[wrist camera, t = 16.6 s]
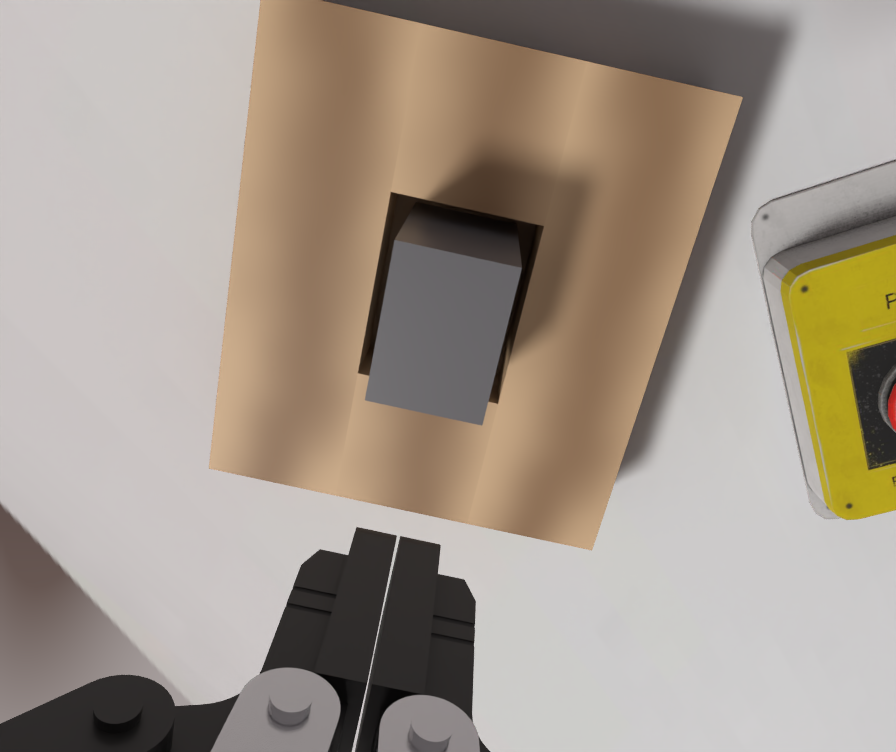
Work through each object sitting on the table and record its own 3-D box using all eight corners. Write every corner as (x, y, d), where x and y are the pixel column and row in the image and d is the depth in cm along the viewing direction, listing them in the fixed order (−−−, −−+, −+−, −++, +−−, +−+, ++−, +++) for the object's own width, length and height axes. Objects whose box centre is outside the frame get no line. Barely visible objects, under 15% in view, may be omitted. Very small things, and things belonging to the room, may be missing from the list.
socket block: (238, 426, 36) (208, 468, 32) (291, -5, 29) (261, -14, 26) (582, 500, 36) (591, 550, 33) (712, 92, 30) (743, 97, 26)
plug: (390, 332, 33) (364, 400, 26) (416, 201, 31) (394, 239, 24) (485, 353, 33) (482, 425, 27) (516, 223, 31) (521, 267, 25)
